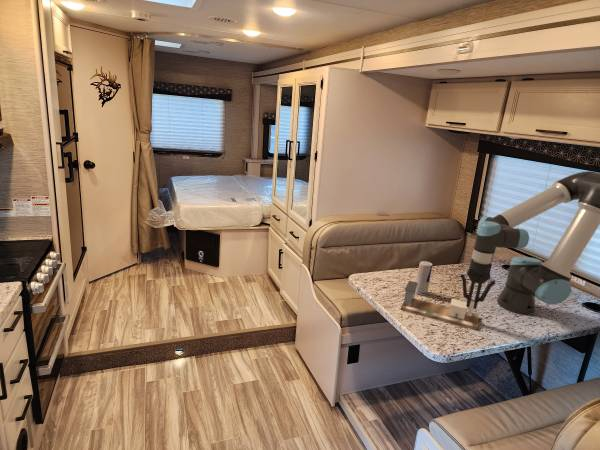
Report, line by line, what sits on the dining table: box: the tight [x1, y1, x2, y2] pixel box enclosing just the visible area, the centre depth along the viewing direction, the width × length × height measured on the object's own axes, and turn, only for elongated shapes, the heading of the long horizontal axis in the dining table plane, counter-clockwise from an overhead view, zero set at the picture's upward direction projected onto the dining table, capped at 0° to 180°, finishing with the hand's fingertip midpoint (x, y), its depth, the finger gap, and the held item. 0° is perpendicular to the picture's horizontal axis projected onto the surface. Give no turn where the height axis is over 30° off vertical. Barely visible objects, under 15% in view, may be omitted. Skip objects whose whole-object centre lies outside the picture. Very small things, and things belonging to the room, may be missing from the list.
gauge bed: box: [400, 297, 480, 331], centre depth 165 cm, size 30×12×2 cm, turn 65°
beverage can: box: [415, 260, 433, 296], centre depth 181 cm, size 6×6×15 cm
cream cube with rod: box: [448, 298, 468, 320], centre depth 160 cm, size 6×10×5 cm, turn 155°
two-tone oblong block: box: [402, 280, 418, 307], centre depth 169 cm, size 4×10×8 cm, turn 155°
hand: (469, 314), depth 160 cm, fingers closed
